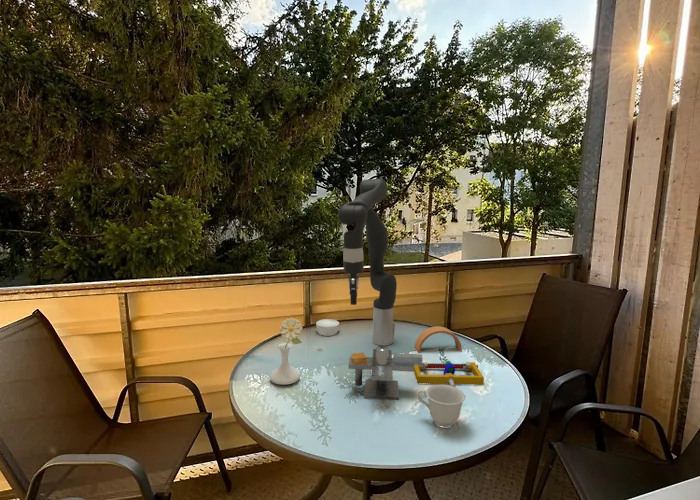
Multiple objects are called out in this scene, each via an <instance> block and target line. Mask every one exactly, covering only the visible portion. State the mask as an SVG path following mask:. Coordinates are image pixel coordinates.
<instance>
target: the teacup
mask: <svg viewBox="0 0 700 500" xmlns="http://www.w3.org/2000/svg"><path fill="white" fill-rule="evenodd" d="M420 394H423V395H424V398H428V401H426V400H424V399H423V398H422V397H421V395H420ZM416 397H417V400H418V401H419V403H421V404H423V405H424V406H425V407H427V409H428V411H429V415H430V417H431V418H432V420H433V421H434V424H435V423H436V424H437V425H439V426H443V427H449V426H452V425H453V426H454V424H455V423H456V422H458V420H459V418H460V415H461V411H462V407H463V406H462V405H463V403H464V401H465V400H466V394H465V393H464V391H463V390H461V389H460V388H458V387H453V386H451V385H450V384H432V385H431V386H429V387H428V388H426V389H424V388H420V389H418V390H417V393H416ZM436 424H435V425H436ZM437 425H436V426H437ZM439 426H438V427H439ZM453 426H452V427H453Z"/></svg>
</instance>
